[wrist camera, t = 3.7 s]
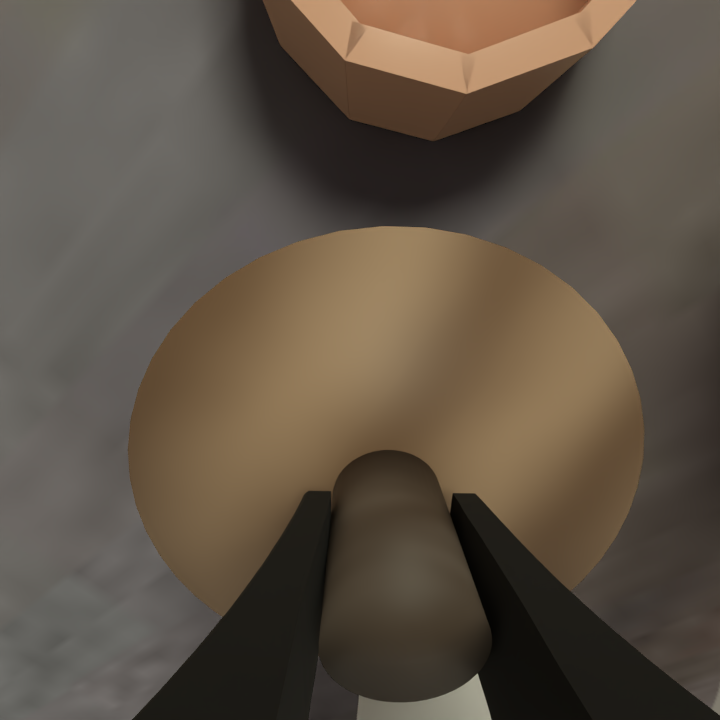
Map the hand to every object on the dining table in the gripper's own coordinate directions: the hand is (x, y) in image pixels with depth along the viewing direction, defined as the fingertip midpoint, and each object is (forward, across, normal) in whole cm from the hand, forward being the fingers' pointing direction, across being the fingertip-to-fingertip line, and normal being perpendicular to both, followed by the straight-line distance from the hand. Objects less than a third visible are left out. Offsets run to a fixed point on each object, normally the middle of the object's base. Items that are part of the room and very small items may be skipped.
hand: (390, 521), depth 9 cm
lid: (+2, 0, 0) cm, 2 cm away
